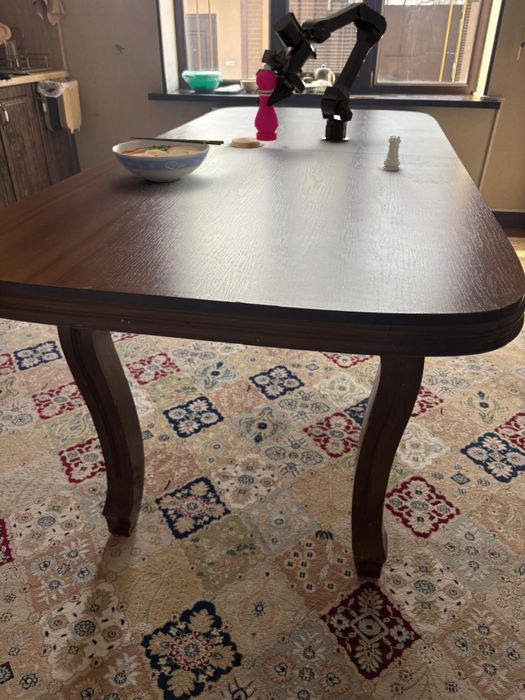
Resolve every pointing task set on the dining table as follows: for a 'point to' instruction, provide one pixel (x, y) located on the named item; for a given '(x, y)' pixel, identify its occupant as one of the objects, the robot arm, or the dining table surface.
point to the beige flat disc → (246, 142)
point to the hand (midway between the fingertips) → (262, 105)
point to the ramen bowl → (163, 157)
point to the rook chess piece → (392, 155)
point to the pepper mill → (266, 115)
